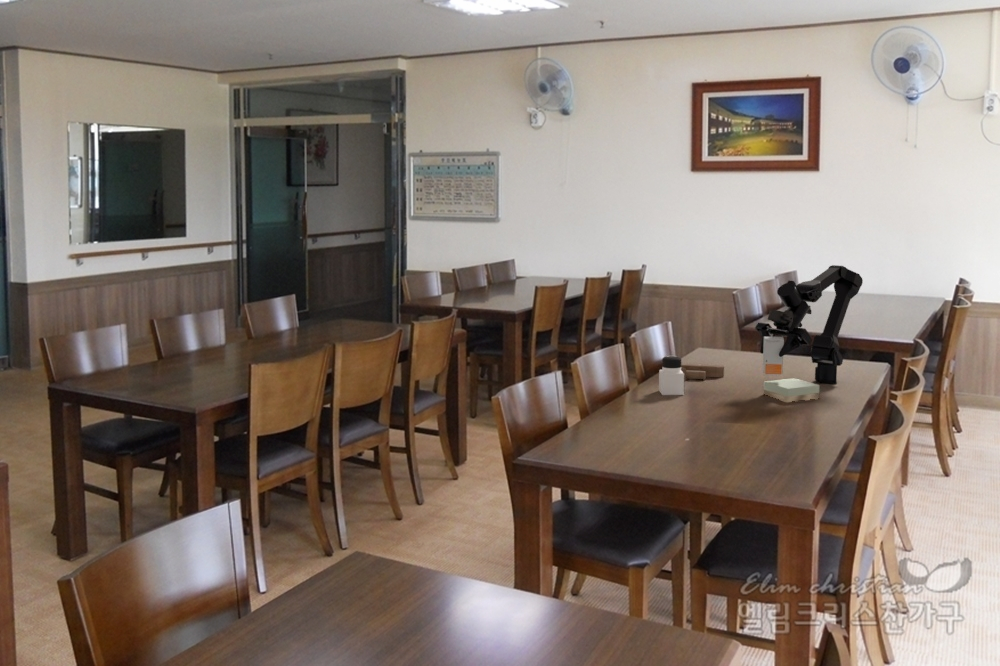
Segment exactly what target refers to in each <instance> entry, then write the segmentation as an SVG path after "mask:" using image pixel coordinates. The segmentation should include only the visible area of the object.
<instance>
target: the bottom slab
mask: <svg viewBox="0 0 1000 666" xmlns="http://www.w3.org/2000/svg"><path fill="white" fill-rule="evenodd" d="M762 393H763V395H764V394H765V395H764V396H766V395H768V396H767V397H769V396H770V397H769V398H772V397H773V398H772V399H775V398H776V399H775V400H778V399H779V400H778V401H781V402H784V403H792V401H795V402H799V401H798V400H805V401H811V400H810V399H815V400H819V399H820V392H819V393H815V394H806V395H798V396H790V397H787V396H784V395H781V394H777V393H774V392H771V391H767V390H764V389H763V392H762ZM818 398H819V399H818Z"/></svg>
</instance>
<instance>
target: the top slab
mask: <svg viewBox="0 0 1000 666" xmlns="http://www.w3.org/2000/svg"><path fill="white" fill-rule="evenodd" d="M762 388H763V391H764V390H767V391H771V392H774V393H777V394H781V395H784V396H787V397H790V396H798V395H806V394H815V393H819V394H820V384H817V383H813V382H811V381H805V380H802V379H798V378H793V377H792V378H784V379H775V380H766V381H763V387H762Z"/></svg>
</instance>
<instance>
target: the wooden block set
mask: <svg viewBox="0 0 1000 666" xmlns="http://www.w3.org/2000/svg"><path fill="white" fill-rule="evenodd" d="M681 371H682V372H683V373H684V374H685V376H684V382H686V381H687V380H688V379H704V380H703V381H705V380H706V377H721V378H724V377H725V365H724V364H709V363H707V364H706V363H705V364H703V363H695V362H693V363H692V362H681ZM723 376H724V377H723ZM685 380H686V381H685Z"/></svg>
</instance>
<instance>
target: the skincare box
mask: <svg viewBox="0 0 1000 666" xmlns="http://www.w3.org/2000/svg"><path fill="white" fill-rule="evenodd" d="M784 344H785V338H784V336H774V337H764V345H763V354H762V375H763V376H773V377H774V376H777V377H783V375H784V373H783V372H784V356H782V357H780V356H779V353H780V351H781V349H782V347H783V345H784Z"/></svg>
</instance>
